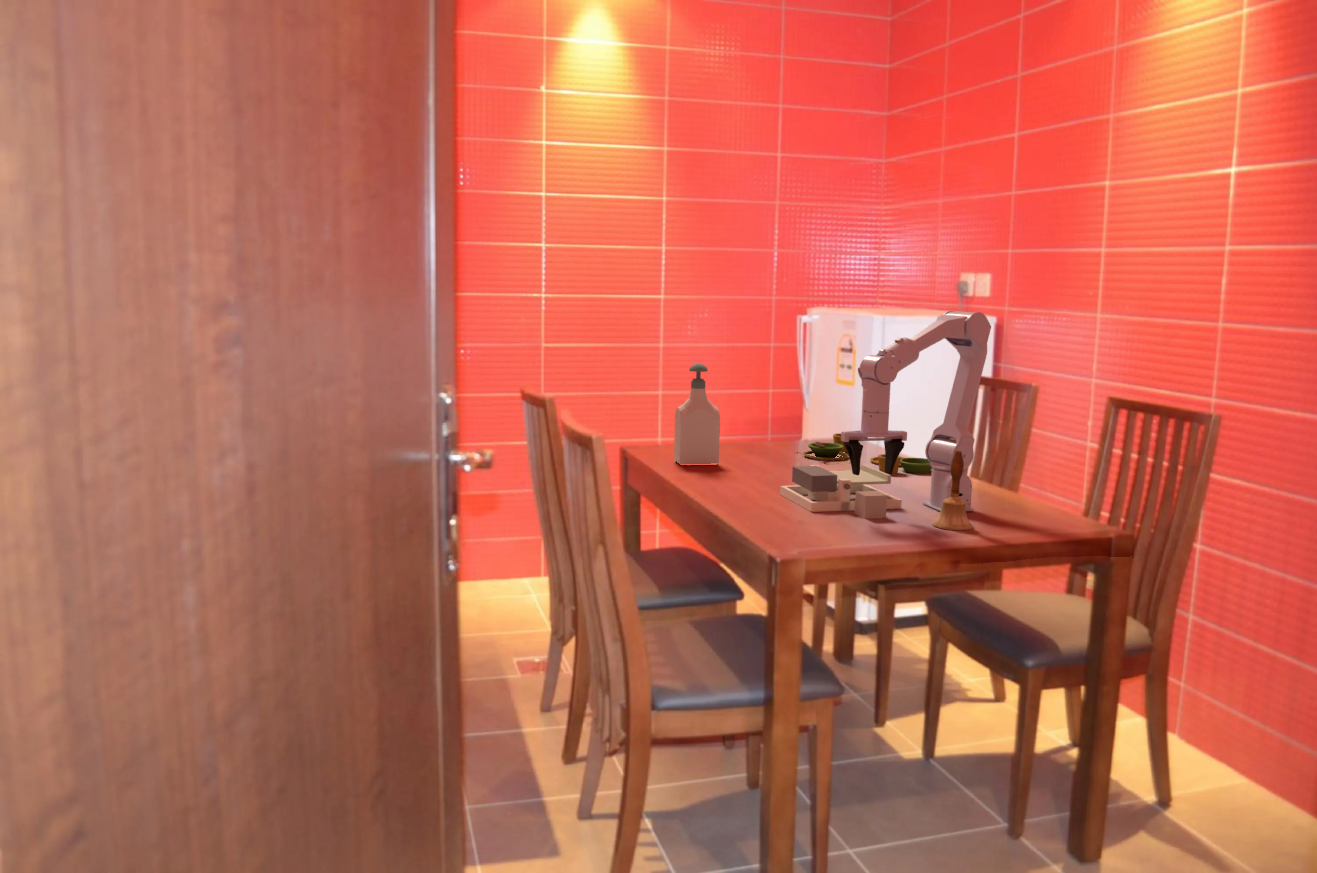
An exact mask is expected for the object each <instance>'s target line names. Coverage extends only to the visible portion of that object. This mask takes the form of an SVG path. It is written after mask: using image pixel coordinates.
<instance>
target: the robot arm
mask: <svg viewBox="0 0 1317 873" xmlns="http://www.w3.org/2000/svg"><path fill="white" fill-rule="evenodd" d="M991 330H992V325H991V323H990V320H989V319H988V318H987V316H986V315H985V314H984V313H983V312H980V311H975V312H968V311H967V312H966V311H956V310H947V311H946V312H944V313H943V314H940V315H938V316H937V318H936V320H935V321H934V322H932V323H931V324H930V325H928V326H927V327H925V328H924V329H923V330H921V331H919V332H918V333H917V334H915V335H914V336H913V337H911V338H908V337H897V338H895V339H894V342H893V343H892V344H890V345H889V346H887V347H885V348H881V349H879V350H878V352H877V354H876V355H875V354H868V355H866V356H865V357H864V358H863V359H862V360H861V362H860V364H859V367H857V374H858V376H859V378H860V379H861V387H862V402H861V403H862V405H861V424H860V430H853V431H852V430H850V431H848V430H847V431H841V432H840V434H841V441H843V443H844V446H845V448H846V450H847V453H846V454H848V455H849V456H848V458H849V462H851V463H850V465H851V467H850V468H852V473H853V474H854V475H859V474H860V470H861V469H860V467H861V458H862V452H863V448H864V445H863V444H861V442H873V441H874V442H879V441H880V442H881V441H882V442H883V444H884V445H883V446H884V454H885V473H887V474H892V472H893V468H894V465H895V463H896V460H897V458H898V456H900V454H901V453H902V450H904V447H905V442H906V441H908V432H907V431H905V430H890V429H889V420H890V419H889V418H890V403H891V402H890V400H891V383H893V382H894V381H895V379H896V378H897V376H898V374H899V372H900V371H902V370H903V369H905V368H906V367H908V366H910V365H912V364H913V363H915V362H916V361H918V359H919V356H920V353H921V352H923V351H924V350H925V349H927V348H930V347H931V346H933V345H935V344H937V343H939V342H940V341H942V340H944V339H945V340H946V341H947V342H948V344H950V345H951V346H952V347H953V348H955V350H956V351H957V352H958V354H959V359H958V364H957V368H956V372H955V376H954V379H953V382H952V388H951V391H950V396H949V399H948V403H947V406H946V411H945V414H944V418H943V422H942V423H941V424H940V425H939V426H937V427H936V428H935V429H934V430H933V431H932V435H931V437H930V438H929V440H928V442H927V443H926V445H925V457H926V459H928V461H929V462H930V466H931V467H932V469H931V477H930V478H931V480H930V495H929V496H930V497H929V500H927V501H926V500H925V501H922V502H921V503H922V504H923V505H925V506H927V507H930V508H932V509H934V510H936V511H938V512H941V509H942V505H943V501H944V500H945V499H947V498H949V497H950V494H951V487H952V476H951V461H952V459H953V456H954V454H955V451H962V457H963V461H964V468H963V473H962V476H961V479H960V486H959V498H960V499H961V500H963V501H964V502H965V509H966V512H974V511H975V509H974V508H972V506H971V504H972V490H973V489H972V488H973V483H972V482H973V481H972V480H971V478H970V477H969V476H968V474H967V473H966V471H968V468H969V467H970V466H971V465H972V462H973V460H974V456H975V455H974V454H975V453H974V451H975V450H974V444H975V440H976V439H975V438H974V436H973V435H972V432H970V431H969V425H970V423H971V422H970V421H971V418H972V413H973V411H974V410H973V409H974V406H975V403H976V402H975V401H976V398H977V395H978V391H979V386H980V382H981V379H982V374H983V370H984V367H985V364H986V360H987V355H988V341H989V338H990V333H991Z"/></svg>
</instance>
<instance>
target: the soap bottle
mask: <svg viewBox="0 0 1317 873" xmlns="http://www.w3.org/2000/svg"><path fill="white" fill-rule="evenodd" d="M689 372H695V378H692V380H691V381H690V391H689V396H688V398H687V399H686V400H685V402H683V404H680V405H679V406H677V407H676V409H675V415H674V437H673V438H674V440H673V443H674V446H673V461H674V460H675V461H677V462H678V463H679V464H711V463H720V437H721V436H720V430H721V429H720V428H721V427H720V426H721V416H720V410H719V408H718V407H717V406H716V405H715V404H713V403H712V402H711V401H710V399H709V398H708V396H707V393H706V391H707V390H706V380H705V379H704V378H702V377H701V373H702V372H708V367H707V366H706V365H705V364H702V363H695V364H693V365H691V366H690V367H689ZM675 461H674V462H675ZM679 464H678V465H679Z"/></svg>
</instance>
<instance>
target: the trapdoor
mask: <svg viewBox="0 0 1317 873" xmlns="http://www.w3.org/2000/svg"><path fill="white" fill-rule="evenodd" d="M818 466H819V465H818ZM818 466H809V465H796V466H795V465H794V466H792V474H791V481H792V482H791V483H793V484H795V485H800V486H801V487H803V488H805V489H807V490H809V491H811V492H822V491H837V484H838V480H839V479H849V480H851V484H850V485H865V484H867V485H888V484H889V485H890V484H891V483H892V482H891V481H892V475H889V474H886V473H884V472H881V471H879V469H876V468H875V467H874V468H873V467H871V466H870V465H867V464H860V467H861V469H860V474H859V475H854V474H853V473H852V470H848V469H846V470H843V471H837V470H826V469H825V468H822V467H821V466H820V467H818Z"/></svg>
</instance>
